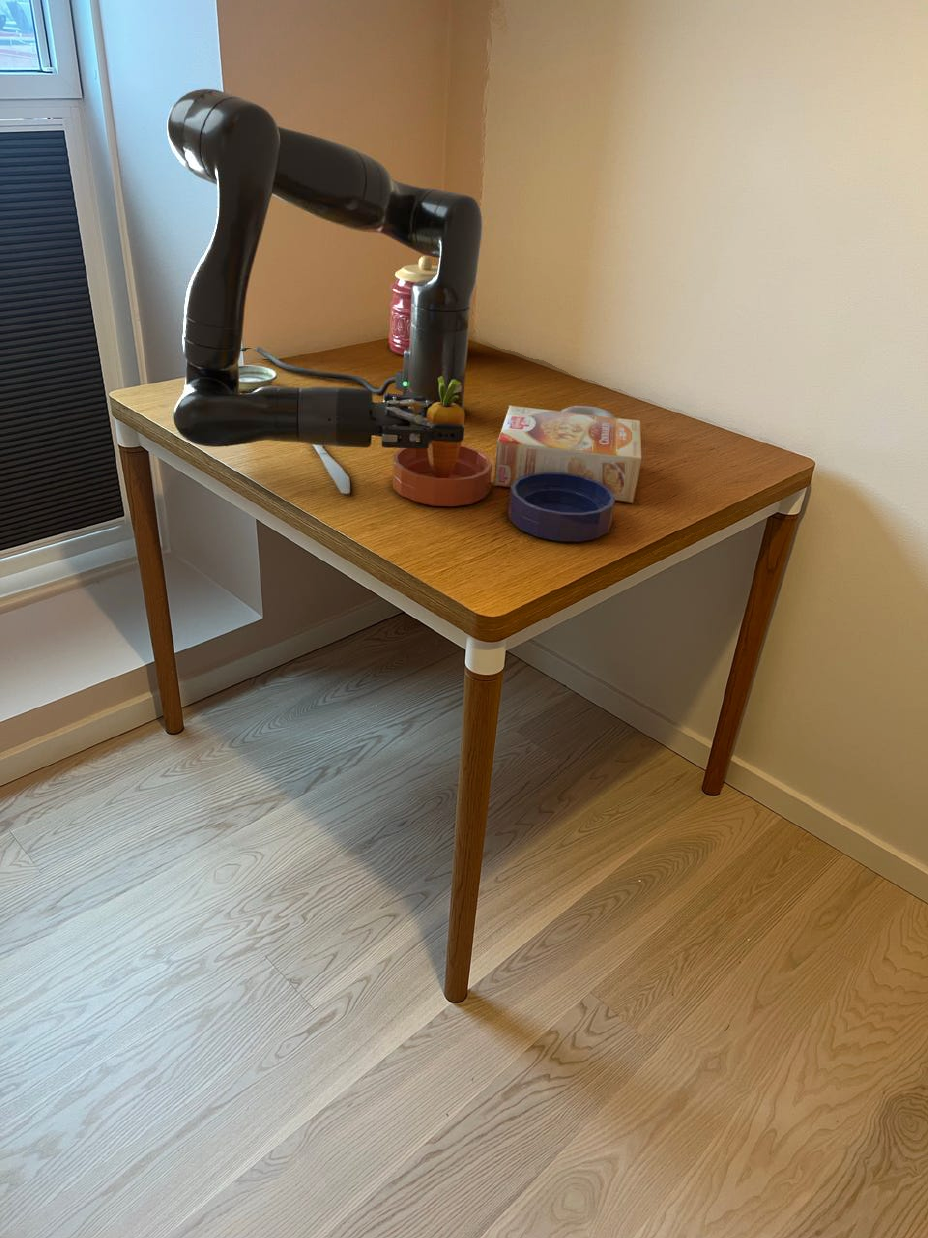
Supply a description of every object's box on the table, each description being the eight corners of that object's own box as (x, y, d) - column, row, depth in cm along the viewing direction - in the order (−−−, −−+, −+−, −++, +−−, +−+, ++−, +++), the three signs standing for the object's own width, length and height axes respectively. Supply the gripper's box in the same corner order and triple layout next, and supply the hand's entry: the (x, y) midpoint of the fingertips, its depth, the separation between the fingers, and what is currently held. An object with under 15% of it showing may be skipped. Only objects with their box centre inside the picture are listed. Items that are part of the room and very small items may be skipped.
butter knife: (315, 419, 142) (296, 419, 141) (358, 492, 121) (336, 493, 120) (315, 423, 142) (296, 423, 141) (358, 496, 121) (336, 497, 120)
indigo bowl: (487, 518, 118) (490, 489, 116) (547, 490, 127) (551, 463, 125) (571, 554, 111) (576, 524, 109) (628, 522, 120) (634, 494, 118)
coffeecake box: (642, 456, 121) (496, 439, 123) (633, 505, 125) (492, 488, 127) (640, 417, 134) (508, 403, 135) (632, 463, 137) (504, 448, 139)
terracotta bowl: (372, 485, 124) (373, 457, 122) (437, 461, 133) (438, 434, 131) (445, 517, 117) (447, 488, 115) (508, 489, 126) (511, 462, 124)
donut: (551, 440, 144) (614, 448, 142) (553, 419, 142) (617, 427, 141) (558, 420, 152) (618, 427, 151) (560, 399, 150) (621, 407, 149)
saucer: (289, 387, 156) (289, 373, 155) (249, 400, 149) (248, 385, 148) (247, 374, 160) (246, 360, 159) (206, 386, 153) (205, 372, 152)
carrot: (422, 477, 127) (427, 370, 119) (457, 478, 127) (465, 372, 119) (423, 492, 122) (429, 382, 115) (460, 493, 123) (469, 383, 115)
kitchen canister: (381, 354, 176) (383, 258, 167) (396, 337, 187) (399, 246, 178) (447, 362, 175) (453, 266, 166) (459, 345, 186) (465, 253, 177)
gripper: (332, 407, 111) (467, 413, 112) (338, 371, 123) (460, 378, 124) (332, 465, 115) (463, 470, 116) (338, 425, 127) (457, 430, 128)
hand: (461, 422), depth 120 cm, fingers open, 7 cm apart
